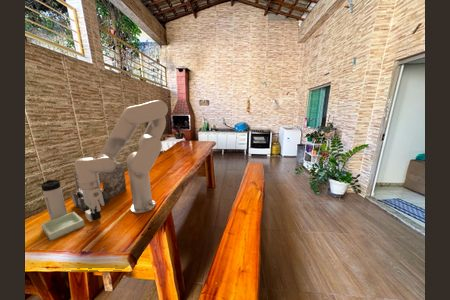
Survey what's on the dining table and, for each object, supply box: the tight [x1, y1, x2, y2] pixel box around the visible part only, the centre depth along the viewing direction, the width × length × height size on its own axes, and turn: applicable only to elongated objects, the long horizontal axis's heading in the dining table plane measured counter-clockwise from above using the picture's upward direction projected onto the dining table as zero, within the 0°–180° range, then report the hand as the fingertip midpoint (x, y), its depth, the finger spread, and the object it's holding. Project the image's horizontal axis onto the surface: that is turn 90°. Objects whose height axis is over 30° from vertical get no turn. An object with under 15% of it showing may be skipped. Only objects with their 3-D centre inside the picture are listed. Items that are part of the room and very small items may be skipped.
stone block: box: [98, 161, 127, 199], centre depth 109 cm, size 13×7×20 cm, turn 171°
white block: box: [84, 209, 94, 222], centre depth 85 cm, size 5×4×4 cm
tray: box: [40, 211, 86, 242], centre depth 78 cm, size 13×12×3 cm
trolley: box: [71, 170, 110, 213], centre depth 96 cm, size 17×12×20 cm
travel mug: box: [40, 179, 68, 221], centre depth 83 cm, size 6×7×20 cm
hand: (96, 218), depth 82 cm, fingers closed
